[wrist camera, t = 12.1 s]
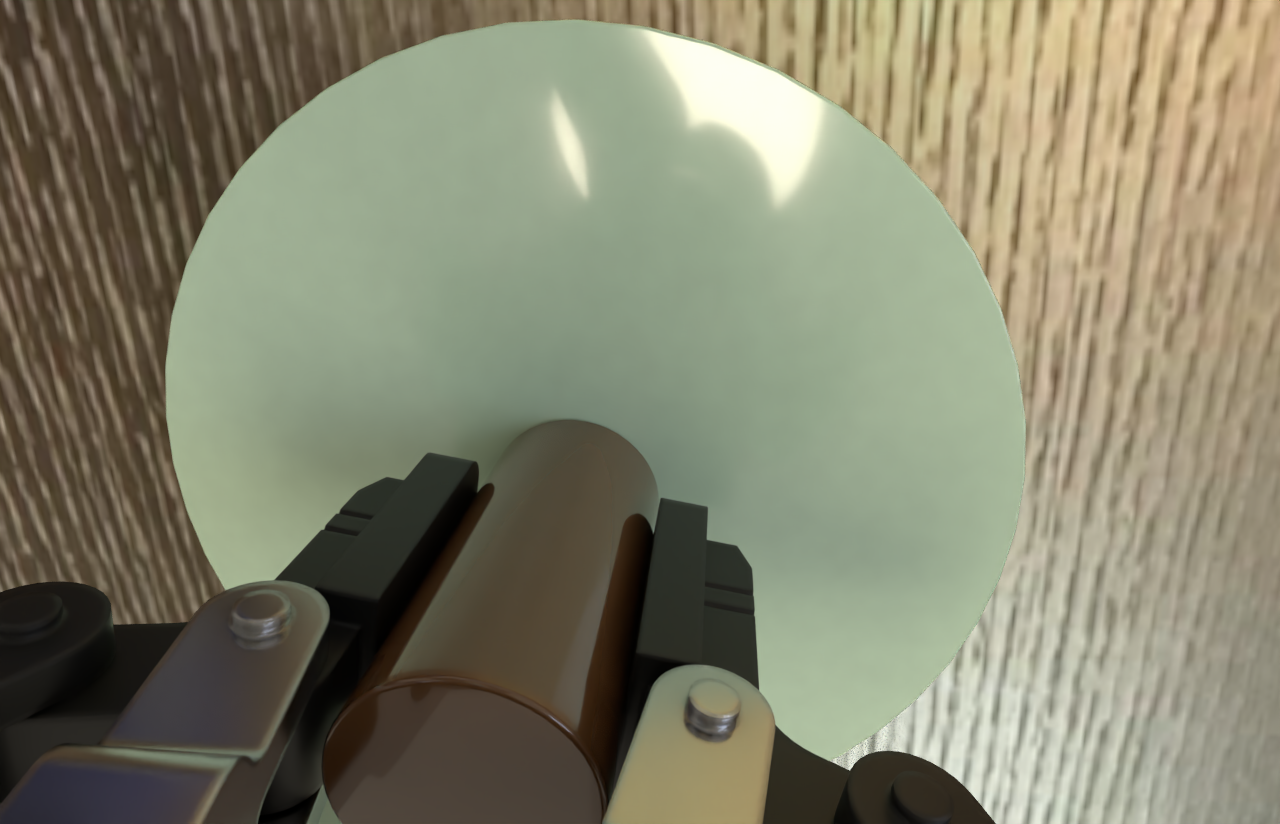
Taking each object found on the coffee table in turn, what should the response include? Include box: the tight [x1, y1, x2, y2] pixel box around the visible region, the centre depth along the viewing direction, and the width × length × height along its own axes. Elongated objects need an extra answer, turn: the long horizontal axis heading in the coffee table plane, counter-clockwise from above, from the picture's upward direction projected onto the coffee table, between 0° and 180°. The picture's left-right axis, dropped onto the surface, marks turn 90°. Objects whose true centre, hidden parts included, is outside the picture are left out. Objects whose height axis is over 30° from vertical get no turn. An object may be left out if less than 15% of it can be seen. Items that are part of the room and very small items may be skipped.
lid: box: [165, 19, 1026, 824], centre depth 11 cm, size 14×14×7 cm
